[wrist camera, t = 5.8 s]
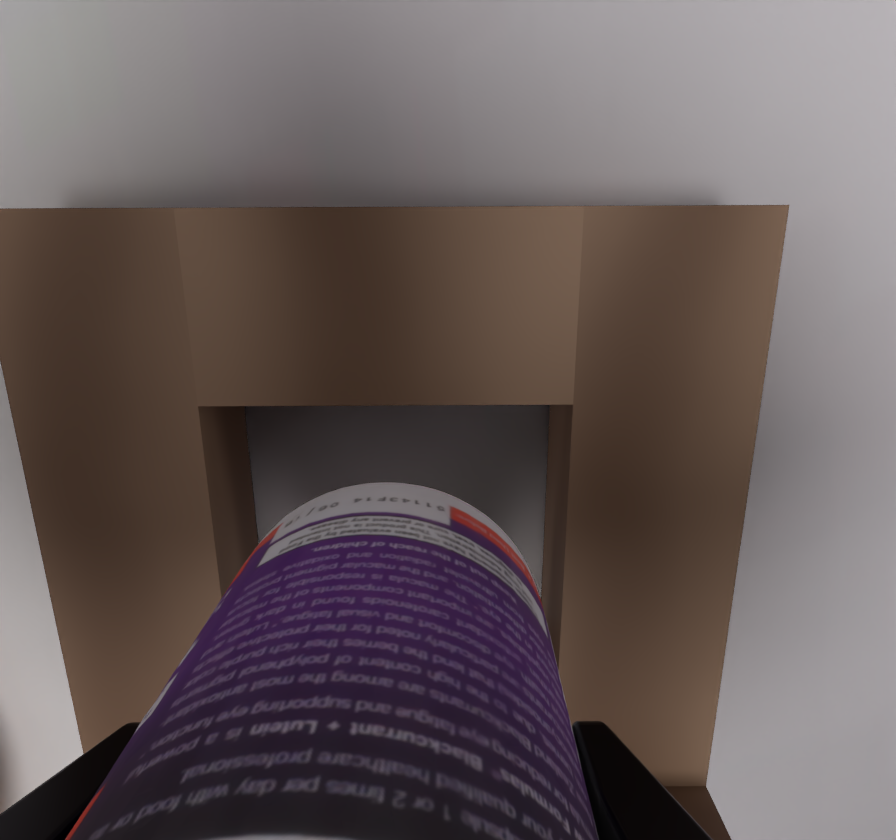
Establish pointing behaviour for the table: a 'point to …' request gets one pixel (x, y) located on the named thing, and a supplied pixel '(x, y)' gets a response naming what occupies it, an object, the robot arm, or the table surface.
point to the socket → (397, 383)
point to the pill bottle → (360, 692)
